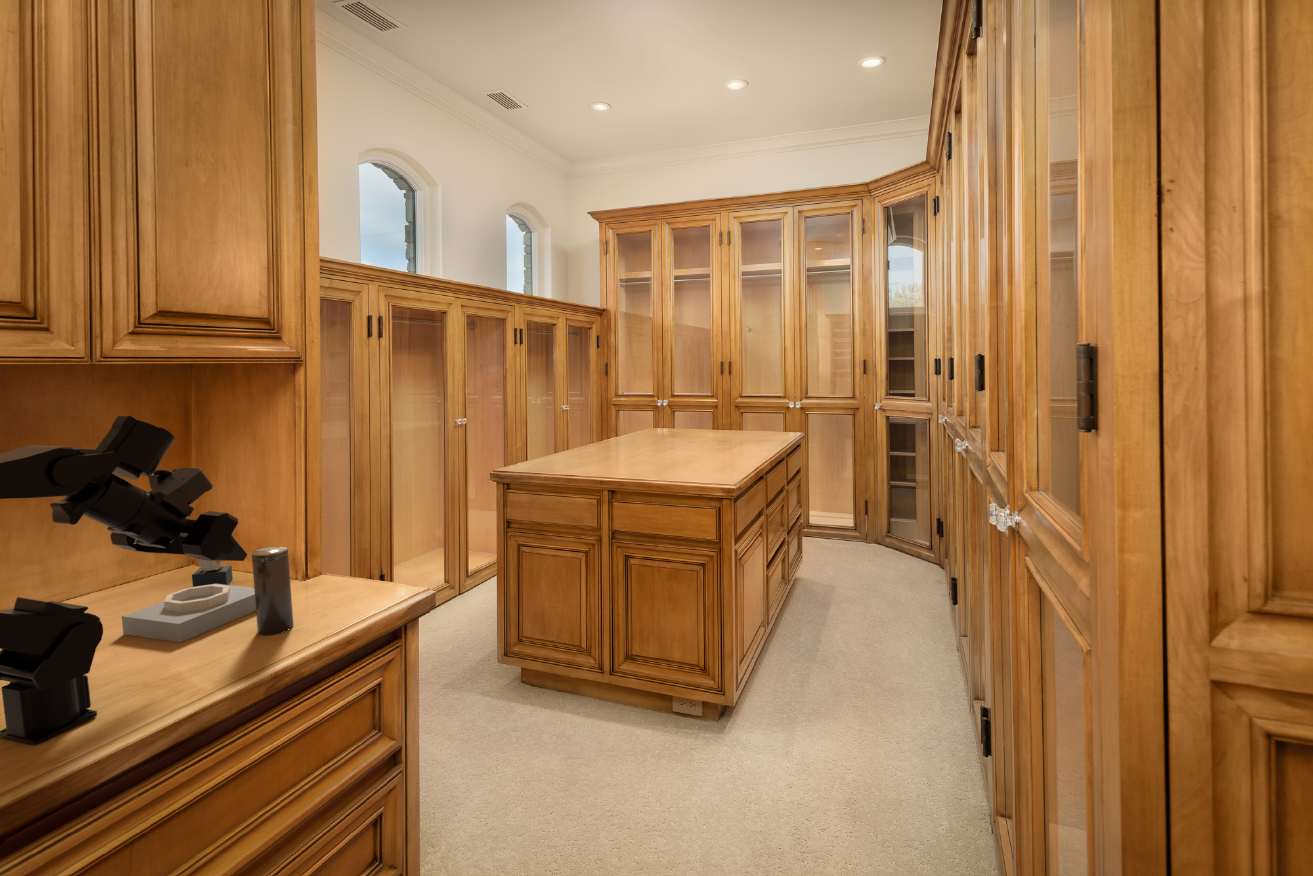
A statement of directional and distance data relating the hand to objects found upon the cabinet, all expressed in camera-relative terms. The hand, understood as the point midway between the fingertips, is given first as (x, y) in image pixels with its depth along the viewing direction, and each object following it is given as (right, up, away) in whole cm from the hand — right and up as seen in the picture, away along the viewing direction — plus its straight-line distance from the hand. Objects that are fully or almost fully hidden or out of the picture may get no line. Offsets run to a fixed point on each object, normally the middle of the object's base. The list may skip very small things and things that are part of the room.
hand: (222, 554), depth 95 cm
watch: (-22, -12, +30) cm, 39 cm away
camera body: (-13, -13, +13) cm, 22 cm away
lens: (+3, -14, +8) cm, 16 cm away
